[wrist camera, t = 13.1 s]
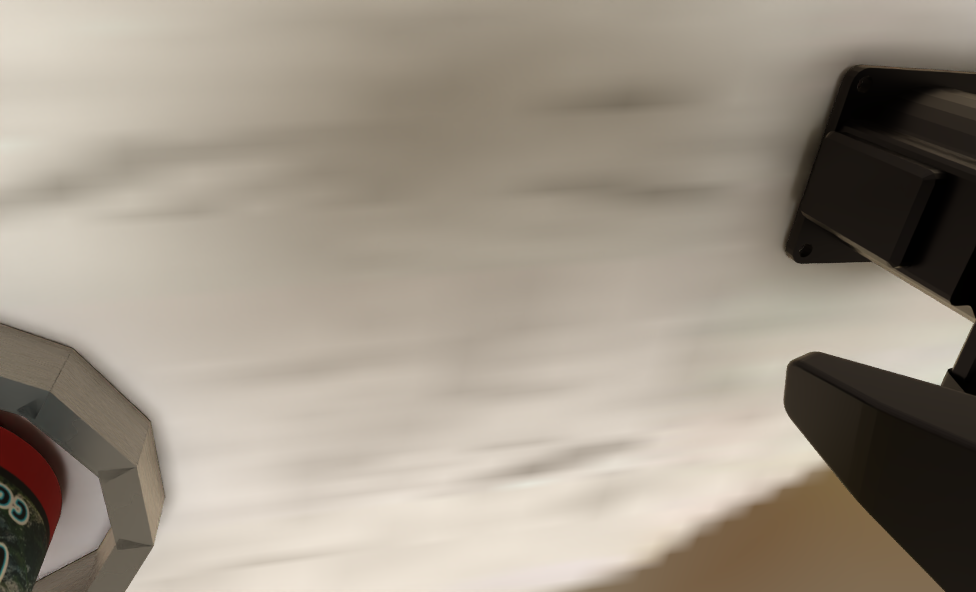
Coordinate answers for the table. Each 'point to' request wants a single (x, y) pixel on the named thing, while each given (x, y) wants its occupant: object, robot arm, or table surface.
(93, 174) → the table surface
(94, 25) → the table surface
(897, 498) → the robot arm
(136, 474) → the ring collar
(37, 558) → the beverage can
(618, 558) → the table surface
